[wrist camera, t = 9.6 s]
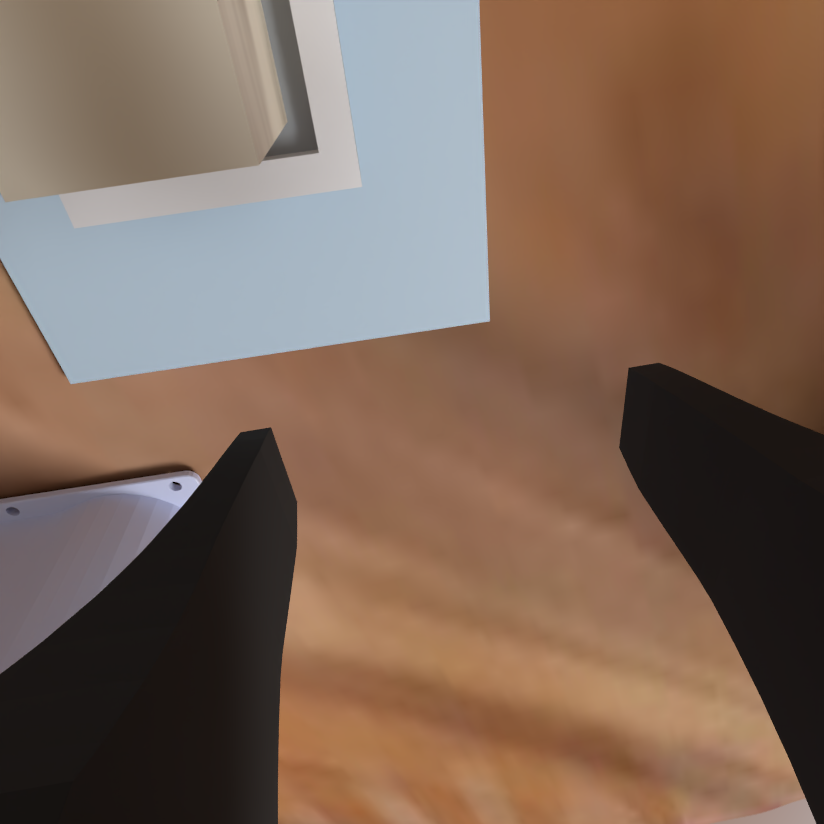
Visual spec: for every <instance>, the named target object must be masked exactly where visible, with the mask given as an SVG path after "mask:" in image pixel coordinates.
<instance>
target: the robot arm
mask: <svg viewBox="0 0 824 824" xmlns="http://www.w3.org/2000/svg"><path fill="white" fill-rule="evenodd" d="M619 448H620V450H621V452H622V455H623V457H624V459H625V461H626V463H627V466H628V468H629V470H630V472H631V474H632V476H633V478H634V480H635V482H636V484H637V486H638V488H639V490H640V491H641V493H642V495H643V496H644V498H645V499H646V501H647V502H648V504H649V505H650V507H651V508H652V510H653V511H654V513H655V514H656V516H657V517H658V519H659V521H660V522H661V524H662V525H663V527H664V528H665V529H666V531H667V532H668V534H669V535H670V537H671V538H672V540H673V541H674V543H675V544H676V546H677V547H678V549H679V550H680V552H681V553H682V555H683V556H684V558H685V559H686V561H687V562H688V564H689V565H690V567H691V568H692V570H693V571H694V573H695V574H696V576H697V577H698V579H699V580H700V582H701V584H702V585H703V587H704V589H705V590H706V592H707V594H708V595H709V597H710V598H711V600H712V602H713V604H714V606H715V608H716V610H717V611H718V613H719V615H720V617H721V619H722V621H723V623H724V625H725V627H726V629H727V630H728V632H729V634H730V636H731V638H732V640H733V642H734V644H735V646H736V648H737V650H738V652H739V654H740V656H741V658H742V660H743V662H744V664H745V666H746V668H747V670H748V672H749V674H750V676H751V678H752V680H753V682H754V684H755V686H756V688H757V690H758V692H759V694H760V696H761V698H762V700H763V703H764V705H765V707H766V709H767V711H768V714H769V716H770V718H771V720H772V722H773V725H774V727H775V729H776V731H777V733H778V735H779V738H780V740H781V742H782V744H783V746H784V749H785V751H786V753H787V755H788V757H789V759H790V762H791V764H792V767H793V769H794V771H795V774H796V776H797V778H798V781H799V783H800V786H801V788H802V790H803V793H804V795H805V797H806V800H807V802H808V805H809V807H810V809H811V812H812V814H813V816H814V819H815V821H816V824H824V435H823V434H820V433H818V432H815V431H813V430H810V429H808V428H805V427H803V426H800V425H798V424H795V423H793V422H790V421H788V420H786V419H783V418H781V417H779V416H776V415H774V414H772V413H769V412H767V411H765V410H763V409H760V408H758V407H756V406H754V405H751V404H749V403H747V402H745V401H743V400H741V399H738V398H736V397H734V396H732V395H730V394H728V393H725V392H723V391H721V390H719V389H717V388H715V387H713V386H711V385H708V384H706V383H704V382H702V381H700V380H698V379H696V378H694V377H691V376H689V375H687V374H685V373H683V372H680V371H678V370H676V369H673V368H671V367H669V366H666V365H663V364H661V363H655V364H649V365H643V366H637V367H631V368H629V370H628V378H627V387H626V395H625V404H624V412H623V421H622V429H621V438H620V446H619ZM173 482H178V483H180V484H181V485H176V484H174V483H173ZM13 507H14V508H13ZM15 508H17V509H15ZM296 549H297V501H296V498H295V495H294V492H293V489H292V486H291V484H290V481H289V478H288V475H287V472H286V469H285V466H284V464H283V461H282V458H281V455H280V452H279V449H278V446H277V443H276V441H275V438H274V435H273V432H272V429H271V428H265V429H259V430H253V431H247V432H241V433H240V434H239V435H238V436H237V437H236V439H235V440H234V441H233V442H232V444H231V445H230V446H229V448H228V449H227V450H226V451H225V453H224V454H223V455H222V457H221V458H220V459H219V461H218V462H217V463H216V464H215V466H214V467H213V468H212V470H211V471H210V472H209V474H208V475H207V476H206V477H205V479H204V480H203V481H202V480H201V478H200V477H199V475H198V474H196V473H195V472H192V471H180V472H173V473H167V474H160V475H154V476H147V477H141V478H134V479H128V480H121V481H115V482H108V483H102V484H95V485H89V486H82V487H76V488H69V489H63V490H56V491H50V492H43V493H37V494H30V495H24V496H17V497H11V498H4V499H0V824H278V740H279V704H280V676H281V664H282V653H283V645H284V638H285V631H286V623H287V616H288V609H289V602H290V595H291V587H292V580H293V572H294V565H295V557H296Z"/></svg>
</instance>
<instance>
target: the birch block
mask: <svg viewBox="0 0 824 824" xmlns="http://www.w3.org/2000/svg"><path fill="white" fill-rule="evenodd" d="M287 122H288V121H287V117H286V112H285V108H284V103H283V99H282V94H281V89H280V85H279V80H278V76H277V71H276V67H275V62H274V58H273V53H272V49H271V44H270V40H269V35H268V31H267V26H266V22H265V17H264V12H263V8H262V3H261V0H0V193H1V195H2V197H3V199H4V201H5V202H11V201H18V200H25V199H32V198H38V197H45V196H52V195H59V194H66V193H73V192H79V191H86V190H93V189H100V188H107V187H114V186H121V185H127V184H134V183H141V182H148V181H155V180H162V179H168V178H175V177H182V176H189V175H196V174H203V173H210V172H216V171H223V170H230V169H237V168H244V167H251V166H257V165H260V163H261V162H262V160H263V159H264V157H265V156H266V154H267V153H268V151H269V150H270V148H271V146H272V145H273V143H274V142H275V140H276V139H277V137H278V136H279V134H280V133H281V131H282V130H283V128H284V126H285V125H286V123H287Z"/></svg>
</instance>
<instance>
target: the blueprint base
mask: <svg viewBox="0 0 824 824" xmlns="http://www.w3.org/2000/svg"><path fill="white" fill-rule="evenodd" d="M261 3H262V8H263V12H264V17H265V22H266V26H267V31H268V35H269V40H270V44H271V49H272V53H273V58H274V62H275V67H276V71H277V76H278V80H279V85H280V89H281V94H282V99H283V103H284V108H285V112H286V117H287V121H288V122H287V123H286V125H285V126H284V128H283V130H282V131H281V133H280V134H279V136H278V137H277V139H276V140H275V142H274V143H273V145H272V146H271V148H270V150H269V151H268V153H267V154H266V156H265V157H264V159H263V160H262V162H261V163H260V165H257V166H251V167H244V168H237V169H230V170H223V171H216V172H210V173H203V174H196V175H189V176H182V177H175V178H168V179H162V180H155V181H148V182H141V183H134V184H127V185H121V186H114V187H107V188H100V189H93V190H86V191H79V192H73V193H66V194H59V195H52V196H45V197H38V198H32V199H25V200H18V201H11V202H5V201H4V199H3V197H2V195H1V193H0V259H1V261H2V263H3V265H4V266H5V268H6V270H7V272H8V273H9V275H10V277H11V279H12V281H13V282H14V284H15V286H16V288H17V289H18V291H19V293H20V295H21V297H22V298H23V300H24V302H25V304H26V305H27V307H28V309H29V311H30V313H31V314H32V316H33V318H34V320H35V321H36V323H37V325H38V327H39V329H40V330H41V332H42V334H43V336H44V337H45V339H46V341H47V343H48V345H49V346H50V348H51V350H52V352H53V353H54V355H55V357H56V359H57V360H58V362H59V364H60V366H61V368H62V369H63V371H64V373H65V375H66V376H67V378H68V380H69V382H70V384H74V383H81V382H88V381H94V380H101V379H108V378H114V377H121V376H128V375H134V374H141V373H148V372H154V371H161V370H168V369H174V368H181V367H188V366H194V365H201V364H208V363H214V362H221V361H228V360H234V359H241V358H248V357H254V356H261V355H268V354H274V353H281V352H288V351H294V350H301V349H308V348H314V347H321V346H327V345H334V344H341V343H347V342H354V341H361V340H367V339H374V338H381V337H387V336H394V335H401V334H407V333H414V332H421V331H427V330H434V329H441V328H447V327H454V326H461V325H467V324H474V323H481V322H487V321H490V312H489V282H488V252H487V222H486V192H485V162H484V132H483V102H482V72H481V42H480V12H479V0H261Z"/></svg>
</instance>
